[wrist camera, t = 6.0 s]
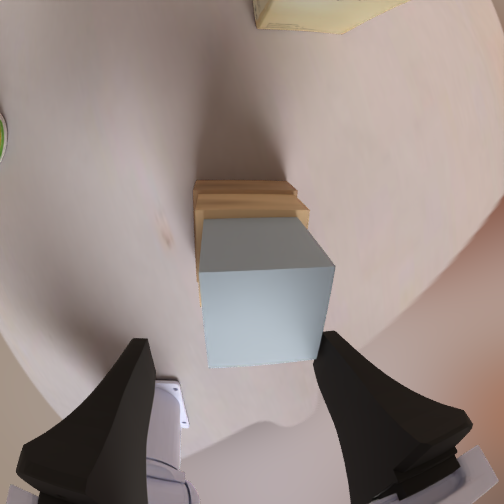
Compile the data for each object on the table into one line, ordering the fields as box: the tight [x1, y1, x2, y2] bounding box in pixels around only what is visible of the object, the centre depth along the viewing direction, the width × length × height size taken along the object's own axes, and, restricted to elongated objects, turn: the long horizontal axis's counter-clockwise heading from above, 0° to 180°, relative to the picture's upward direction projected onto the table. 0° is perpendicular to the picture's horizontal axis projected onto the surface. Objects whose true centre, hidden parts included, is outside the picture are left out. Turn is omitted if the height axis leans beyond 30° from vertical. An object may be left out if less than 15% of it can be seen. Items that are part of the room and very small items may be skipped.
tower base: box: [193, 180, 298, 282], centre depth 19 cm, size 6×6×3 cm
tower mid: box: [195, 194, 310, 307], centre depth 16 cm, size 6×6×3 cm
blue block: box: [199, 217, 335, 368], centre depth 12 cm, size 4×4×5 cm
